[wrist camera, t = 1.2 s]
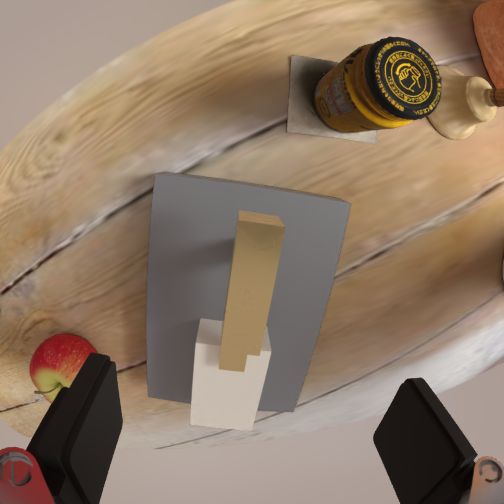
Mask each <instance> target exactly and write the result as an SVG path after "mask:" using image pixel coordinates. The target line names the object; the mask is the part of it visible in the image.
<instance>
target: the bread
mask: <svg viewBox="0 0 504 504" xmlns="http://www.w3.org/2000/svg"><path fill="white" fill-rule="evenodd" d="M473 21H474V31H475V35H476V39H477V42H478V45H479V47H480V50H481V54H482V58H483V61H484V65H485V67H486V69H487V71H488V74H489V76H490V78H491V80H492V82H493V84H494V85H495V87H496V88H497V89H498V88H504V0H490V1H487V2H485V3H482V4H481V5H479V6H478V7H477V8H476V9H475V11H474V14H473Z"/></svg>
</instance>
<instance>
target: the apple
mask: <svg viewBox="0 0 504 504" xmlns="http://www.w3.org/2000/svg"><path fill="white" fill-rule="evenodd" d="M91 352H94V353H97V351H96V350H95V348H94V347H93V346H92V345H91V344H90V343H89V342H88V341H87V340H85V339H84V338H81V337H79V336H76V335H70V334H60V335H55V336H52V337H50V338H48V339H46V340H45V341H44V342H43V343H42V344H40V346H39V347H38V348H37V349H36V351H35V353H34V355H33V357H32V360H31V363H30V376H31V379H32V381H33V383H34V385H35V386H36V387H37V389H38V390H39V391H34V392H35V394H42V395H43V396H44V397H45V398H46V399H47V400H48V401H49V402H50V403H52V402H53V401H54V399H55V397H56V395H57V394H58V392H59V391H60V389H61V388H63V387H68V388H69V387H70V385H71V384H72V382H73V380H74V379H75V377H76V375H77V374H78V372H79V370H80V369H81V367H82V365H83V364H84V362H85V360H86V359H87V357H88V355H89V354H90V353H91Z"/></svg>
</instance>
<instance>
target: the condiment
mask: <svg viewBox="0 0 504 504" xmlns="http://www.w3.org/2000/svg"><path fill="white" fill-rule="evenodd" d="M323 73H325V74H323ZM441 81H442V78H441V77H440V74H439V70H438V68H437V66H436V64H435V63H434V61H433V59H432V58H431V57H430V55H429V54H428V53H427V52H426V51H425V50H424V49H423V48H422V47H420V46H419V45H418V44H416V43H415V42H413V41H411V40H408V39H404V38H400V37H388V38H384V39H381V40H380V41H377V42H375V43H373V44H367V45H364V46H361V47H359V48H358V49H357V50H355V51H354V52H352V53H351V54H350V55H349V56H347V57H346V58H345V59H343V60H342V61H341V62H340V63H337V62H332V61H327V60H321V59H314V58H308V57H303V56H295V55H292V56H291V71H290V88H289V106H288V122H287V132H292V133H301V134H311V135H319V136H327V137H334V138H341V139H347V140H354V141H360V142H366V143H372V144H376V137H377V130H380V129H392V128H393V129H394V128H397V127H401V126H404V125H407V124H408V123H410V122H411V121H413V120H417V119H422V118H424V117H425V116H427V115H430V114H431V113H432V112H433V111H434V110H435V109H436V107H437V105H438V104H439V102H440V99H441V89H442V83H441ZM309 109H310V110H311V111H312V112H310V111H309ZM313 113H315V115H313Z"/></svg>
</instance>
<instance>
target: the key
mask: <svg viewBox="0 0 504 504" xmlns="http://www.w3.org/2000/svg"><path fill="white" fill-rule="evenodd" d="M284 232H285V226H284V224H283V223H282V221H281V220H280V218H279V217H278V216H275V215H269V214H262V213H255V212H249V211H242V210H239V211H238V217H237V224H236V231H235V237H234V244H233V251H232V258H231V265H230V272H229V279H228V286H227V293H226V300H225V308H224V315H223V322H222V333H221V347H220V360H219V369H220V370H229V371H238V372H244V370H245V365H246V360H247V355H254V356H260V352H261V348H262V343H263V338H264V333H265V328H266V324H267V319H268V314H269V309H270V304H271V299H272V294H273V289H274V284H275V279H276V274H277V269H278V264H279V258H280V253H281V248H282V243H283V237H284Z"/></svg>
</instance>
